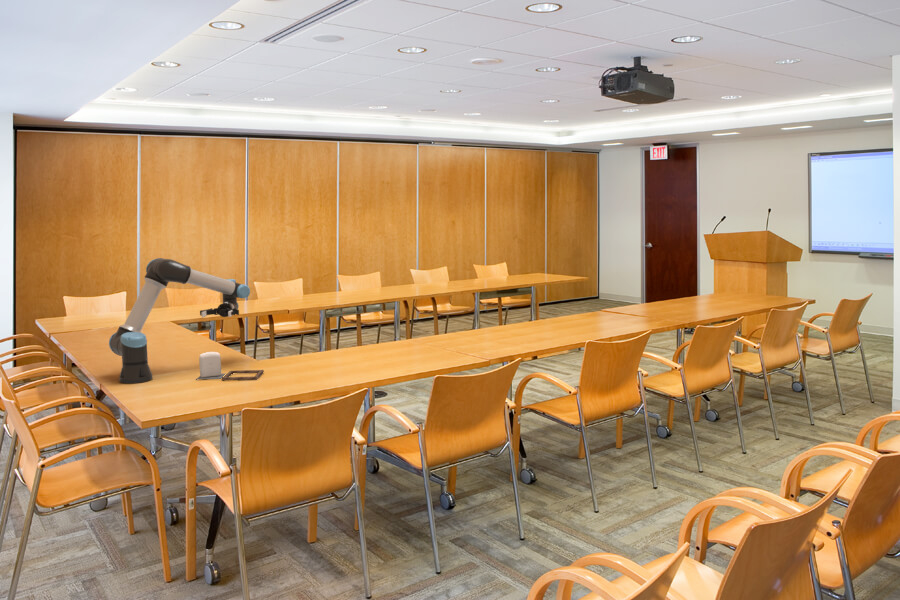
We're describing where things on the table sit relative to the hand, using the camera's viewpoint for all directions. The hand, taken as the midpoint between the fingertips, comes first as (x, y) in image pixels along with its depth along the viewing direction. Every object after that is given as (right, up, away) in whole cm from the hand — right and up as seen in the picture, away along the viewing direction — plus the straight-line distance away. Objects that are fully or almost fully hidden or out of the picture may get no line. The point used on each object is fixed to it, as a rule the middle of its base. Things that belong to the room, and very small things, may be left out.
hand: (215, 314), depth 379 cm
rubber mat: (+1, -31, -10) cm, 33 cm away
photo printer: (+1, -31, -10) cm, 33 cm away
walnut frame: (+17, -31, -10) cm, 37 cm away
